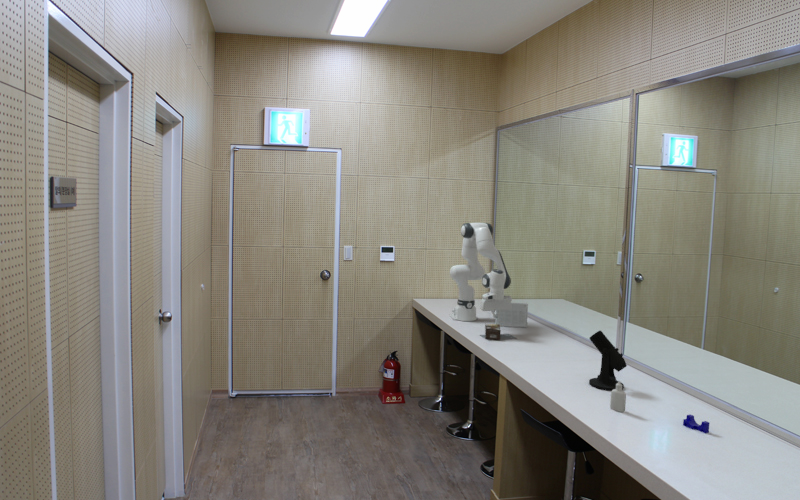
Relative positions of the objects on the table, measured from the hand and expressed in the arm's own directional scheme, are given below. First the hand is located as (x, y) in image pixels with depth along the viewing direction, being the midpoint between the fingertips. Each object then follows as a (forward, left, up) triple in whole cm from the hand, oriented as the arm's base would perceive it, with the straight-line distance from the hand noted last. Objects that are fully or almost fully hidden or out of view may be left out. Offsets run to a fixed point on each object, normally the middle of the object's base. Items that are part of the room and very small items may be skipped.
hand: (495, 317), depth 338 cm
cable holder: (+146, +10, -12) cm, 147 cm away
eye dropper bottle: (+124, -7, -11) cm, 125 cm away
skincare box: (-22, +23, -12) cm, 34 cm away
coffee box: (-3, 0, -8) cm, 8 cm away
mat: (+5, 0, -11) cm, 12 cm away
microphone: (+97, +8, -11) cm, 98 cm away
